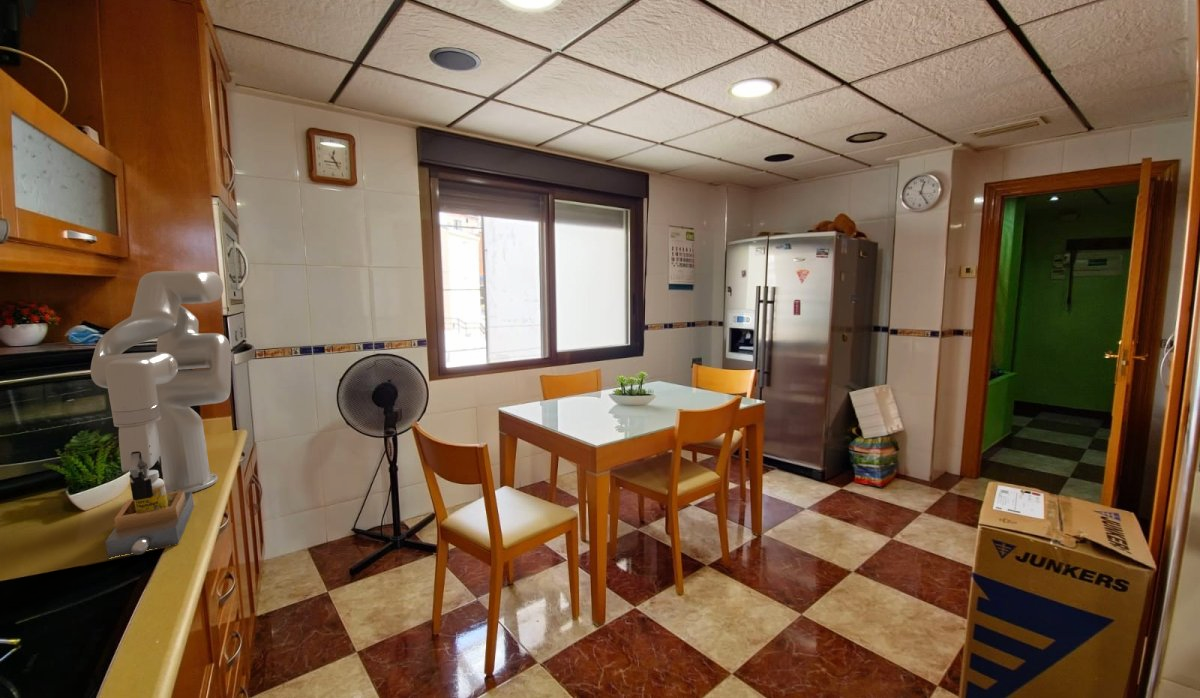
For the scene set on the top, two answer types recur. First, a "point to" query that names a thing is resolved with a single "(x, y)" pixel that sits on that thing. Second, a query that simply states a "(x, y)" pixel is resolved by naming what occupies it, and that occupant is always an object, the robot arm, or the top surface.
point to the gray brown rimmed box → (150, 526)
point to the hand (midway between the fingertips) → (149, 489)
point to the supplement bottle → (158, 495)
